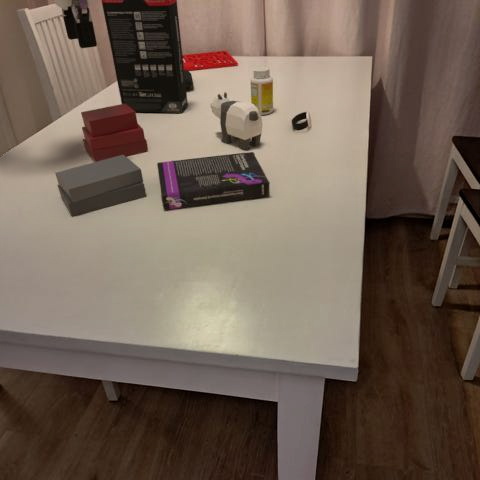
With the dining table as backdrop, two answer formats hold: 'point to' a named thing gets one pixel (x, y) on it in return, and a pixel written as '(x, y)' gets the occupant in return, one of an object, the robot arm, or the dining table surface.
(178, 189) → the box
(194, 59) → the maze puzzle
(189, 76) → the carrying case
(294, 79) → the dining table surface
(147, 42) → the graphics card box
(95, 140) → the burgundy book pile
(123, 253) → the dining table surface
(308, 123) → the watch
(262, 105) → the supplement bottle
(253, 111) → the giant panda
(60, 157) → the dining table surface
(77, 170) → the grey book pile
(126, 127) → the dark red rectangular block
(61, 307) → the dining table surface
